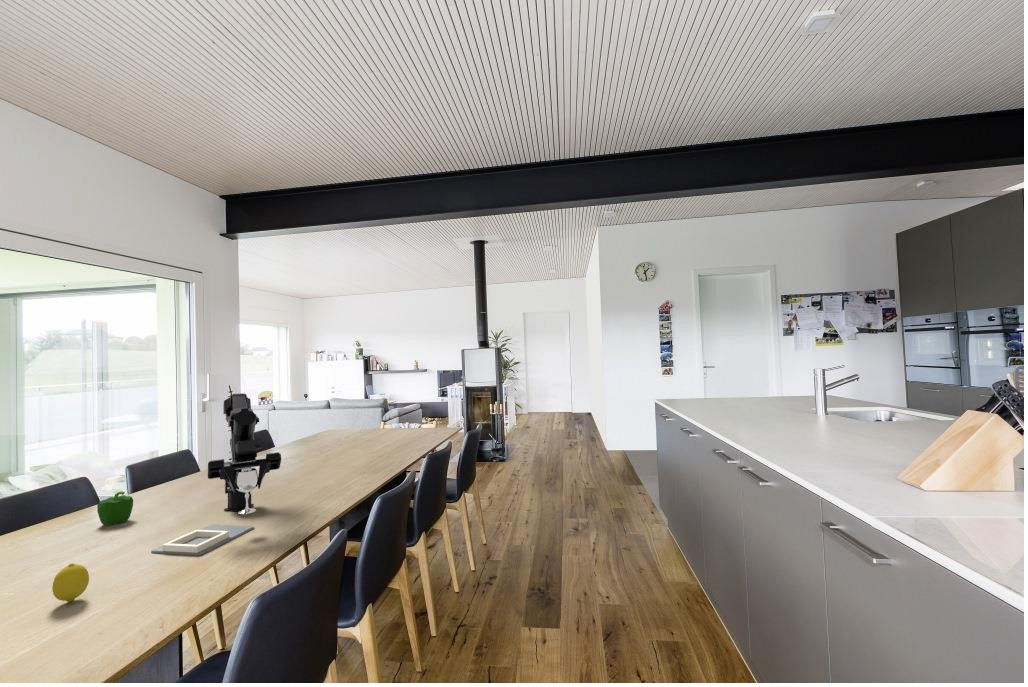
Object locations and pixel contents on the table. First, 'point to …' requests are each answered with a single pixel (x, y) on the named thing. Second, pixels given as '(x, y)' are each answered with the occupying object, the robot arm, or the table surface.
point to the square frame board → (202, 540)
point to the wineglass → (246, 485)
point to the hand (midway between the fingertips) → (247, 489)
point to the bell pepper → (115, 509)
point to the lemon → (70, 582)
